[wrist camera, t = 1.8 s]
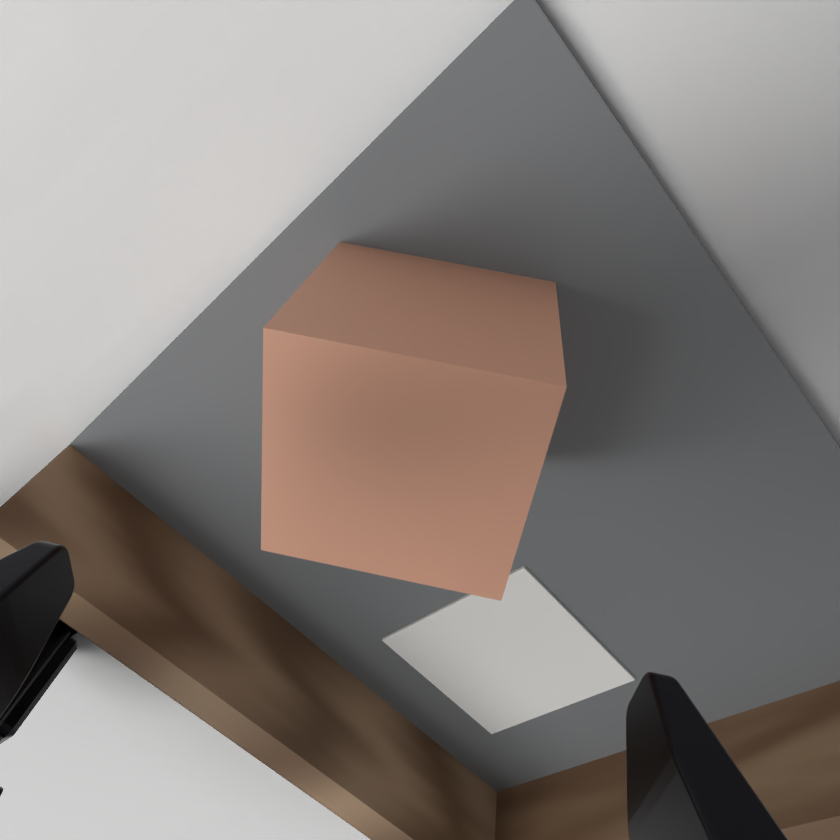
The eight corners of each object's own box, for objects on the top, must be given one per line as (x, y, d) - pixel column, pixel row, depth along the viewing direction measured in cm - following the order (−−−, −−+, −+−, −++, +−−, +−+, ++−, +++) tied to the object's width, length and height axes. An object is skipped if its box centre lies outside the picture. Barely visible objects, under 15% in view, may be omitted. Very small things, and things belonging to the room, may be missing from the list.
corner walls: (47, 466, 22) (-42, 547, 18) (526, -12, 13) (526, -28, 9) (491, 817, 29) (486, 921, 26) (988, 665, 20) (1080, 793, 17)
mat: (53, 461, 22) (46, 468, 22) (526, -12, 13) (526, -13, 13) (491, 810, 29) (491, 819, 29) (982, 657, 20) (990, 668, 20)
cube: (326, 423, 19) (260, 550, 14) (339, 241, 16) (263, 328, 11) (508, 459, 19) (501, 601, 14) (555, 282, 16) (567, 386, 11)
